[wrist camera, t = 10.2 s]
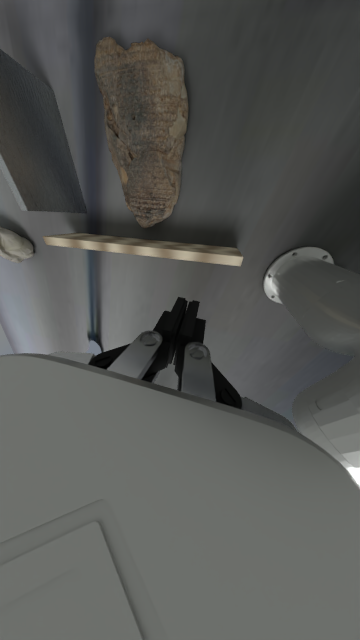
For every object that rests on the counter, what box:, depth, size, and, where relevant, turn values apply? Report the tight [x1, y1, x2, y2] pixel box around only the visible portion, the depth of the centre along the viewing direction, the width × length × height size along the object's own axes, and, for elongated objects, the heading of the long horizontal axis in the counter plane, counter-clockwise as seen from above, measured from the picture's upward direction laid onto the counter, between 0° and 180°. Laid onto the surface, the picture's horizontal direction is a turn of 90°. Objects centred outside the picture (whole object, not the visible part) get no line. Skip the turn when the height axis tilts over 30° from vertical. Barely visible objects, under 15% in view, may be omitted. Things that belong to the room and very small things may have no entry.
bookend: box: [0, 49, 87, 213], centre depth 23 cm, size 7×16×13 cm, turn 177°
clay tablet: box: [95, 37, 188, 228], centre depth 24 cm, size 14×5×20 cm
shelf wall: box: [43, 233, 243, 266], centre depth 30 cm, size 40×2×9 cm, turn 87°
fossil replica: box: [0, 227, 34, 263], centre depth 37 cm, size 12×8×10 cm
